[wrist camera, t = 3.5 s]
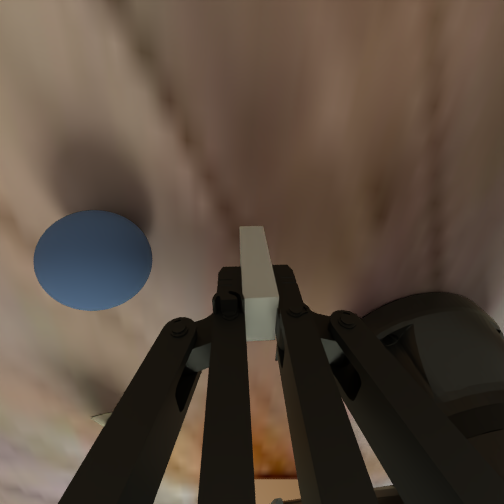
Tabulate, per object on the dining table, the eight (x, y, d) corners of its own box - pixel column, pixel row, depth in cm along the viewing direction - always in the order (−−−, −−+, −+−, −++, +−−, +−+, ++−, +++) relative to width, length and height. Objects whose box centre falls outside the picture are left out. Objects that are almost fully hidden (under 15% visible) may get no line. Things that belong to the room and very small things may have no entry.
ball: (152, 194, 16) (115, 239, 11) (168, 269, 19) (145, 330, 14) (57, 196, 16) (-26, 243, 11) (89, 271, 19) (37, 335, 14)
